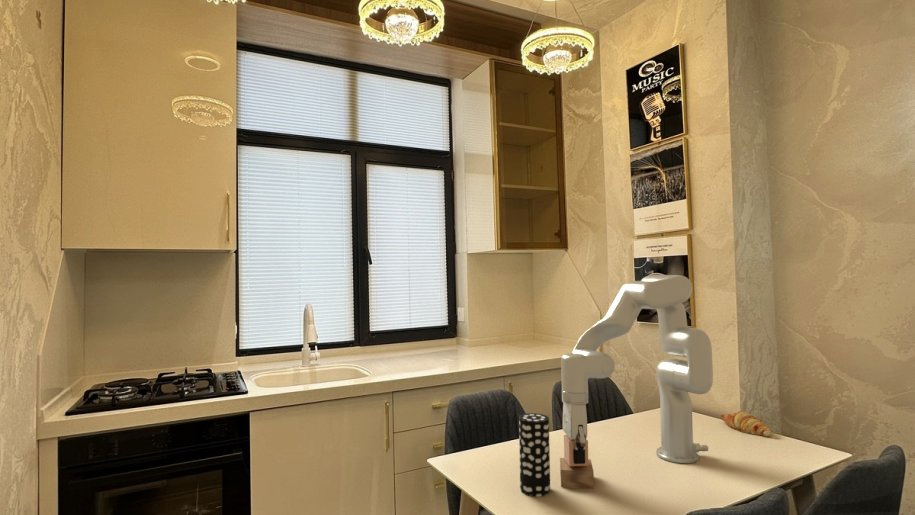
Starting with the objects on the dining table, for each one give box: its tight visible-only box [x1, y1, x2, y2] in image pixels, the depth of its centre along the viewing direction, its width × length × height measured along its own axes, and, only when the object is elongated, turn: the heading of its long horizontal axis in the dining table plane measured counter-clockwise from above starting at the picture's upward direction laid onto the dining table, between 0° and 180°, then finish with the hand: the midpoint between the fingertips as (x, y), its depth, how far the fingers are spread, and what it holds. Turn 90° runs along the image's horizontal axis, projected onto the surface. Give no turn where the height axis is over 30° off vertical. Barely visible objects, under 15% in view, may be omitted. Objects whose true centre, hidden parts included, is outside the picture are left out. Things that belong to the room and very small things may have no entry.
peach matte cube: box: [563, 434, 589, 466], centre depth 141 cm, size 6×6×7 cm
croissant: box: [720, 410, 773, 437], centre depth 183 cm, size 21×10×8 cm, turn 21°
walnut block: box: [559, 457, 595, 490], centre depth 140 cm, size 9×9×5 cm
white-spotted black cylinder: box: [518, 412, 551, 497], centre depth 135 cm, size 8×8×20 cm
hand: (576, 458), depth 140 cm, fingers closed on peach matte cube, 5 cm apart
